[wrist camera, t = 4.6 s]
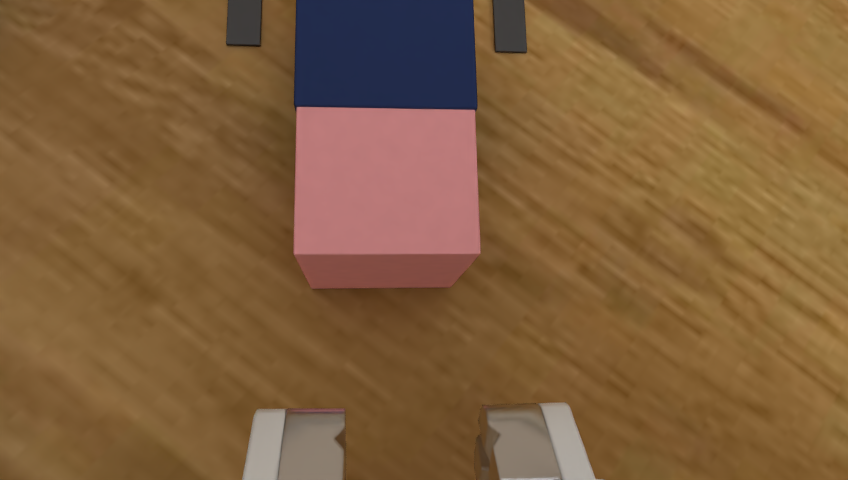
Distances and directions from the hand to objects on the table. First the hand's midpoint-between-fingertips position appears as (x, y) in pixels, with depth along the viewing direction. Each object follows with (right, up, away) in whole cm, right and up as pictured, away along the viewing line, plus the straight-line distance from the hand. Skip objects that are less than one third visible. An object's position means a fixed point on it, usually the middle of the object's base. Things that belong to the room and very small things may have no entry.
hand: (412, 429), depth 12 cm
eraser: (-2, +8, +18) cm, 20 cm away
